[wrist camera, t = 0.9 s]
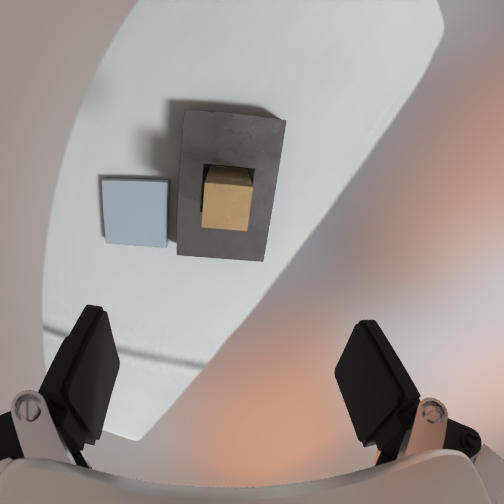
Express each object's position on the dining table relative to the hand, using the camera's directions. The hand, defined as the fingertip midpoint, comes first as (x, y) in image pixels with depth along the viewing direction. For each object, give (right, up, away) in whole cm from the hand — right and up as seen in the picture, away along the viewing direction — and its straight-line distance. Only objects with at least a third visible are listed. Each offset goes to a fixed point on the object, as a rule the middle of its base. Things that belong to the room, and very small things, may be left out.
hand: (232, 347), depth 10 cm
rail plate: (-2, +11, +21) cm, 23 cm away
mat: (-13, +8, +21) cm, 26 cm away
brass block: (-2, +11, +21) cm, 24 cm away
